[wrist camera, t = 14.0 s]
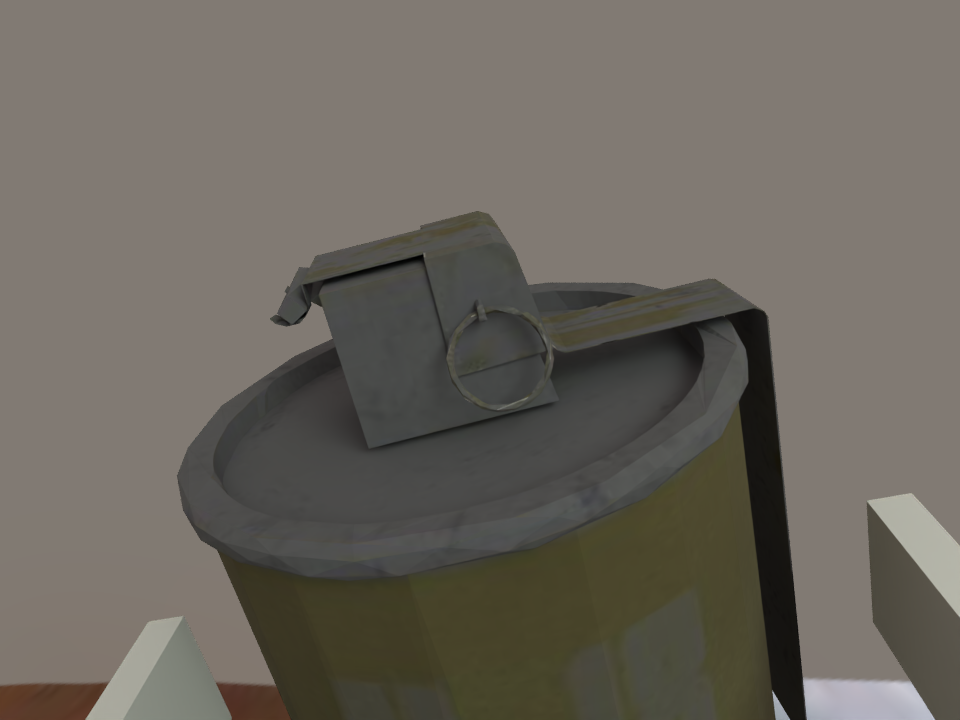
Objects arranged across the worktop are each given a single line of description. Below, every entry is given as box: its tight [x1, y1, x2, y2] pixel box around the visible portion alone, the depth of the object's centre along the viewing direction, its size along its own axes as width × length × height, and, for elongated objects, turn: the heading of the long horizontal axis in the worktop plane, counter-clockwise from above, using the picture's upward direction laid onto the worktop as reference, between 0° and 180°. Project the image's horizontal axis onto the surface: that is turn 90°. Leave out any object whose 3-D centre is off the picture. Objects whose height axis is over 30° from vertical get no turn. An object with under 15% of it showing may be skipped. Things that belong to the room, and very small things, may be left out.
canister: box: [177, 211, 807, 720], centre depth 17 cm, size 11×10×20 cm
